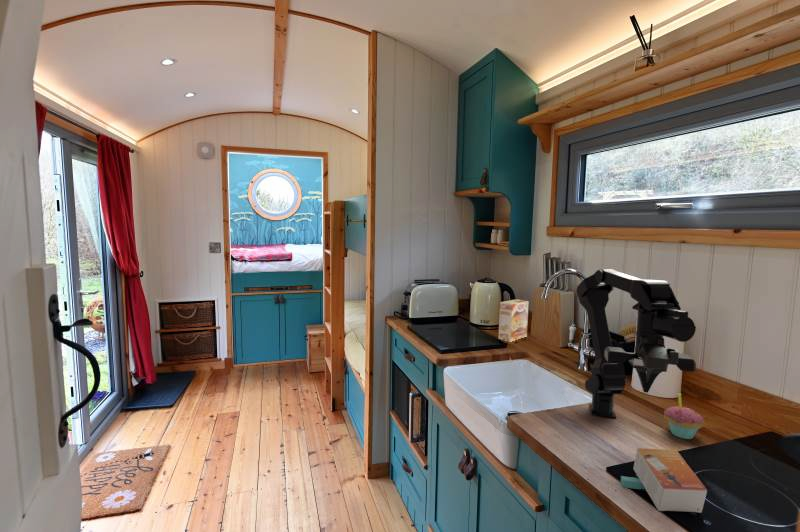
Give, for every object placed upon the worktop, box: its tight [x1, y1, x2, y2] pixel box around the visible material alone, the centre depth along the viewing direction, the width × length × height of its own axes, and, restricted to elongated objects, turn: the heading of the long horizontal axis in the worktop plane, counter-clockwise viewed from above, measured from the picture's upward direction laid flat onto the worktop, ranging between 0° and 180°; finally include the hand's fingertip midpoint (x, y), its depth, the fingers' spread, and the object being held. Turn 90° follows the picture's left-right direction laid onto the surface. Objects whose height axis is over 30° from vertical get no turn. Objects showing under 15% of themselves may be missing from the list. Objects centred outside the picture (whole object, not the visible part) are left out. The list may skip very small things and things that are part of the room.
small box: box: [633, 447, 708, 514], centre depth 80 cm, size 8×6×10 cm
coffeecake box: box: [497, 298, 530, 342], centre depth 194 cm, size 15×7×20 cm, turn 132°
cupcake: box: [663, 390, 704, 440], centre depth 106 cm, size 9×8×12 cm
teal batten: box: [620, 475, 646, 491], centre depth 83 cm, size 2×12×2 cm, turn 78°
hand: (645, 391), depth 101 cm, fingers closed
